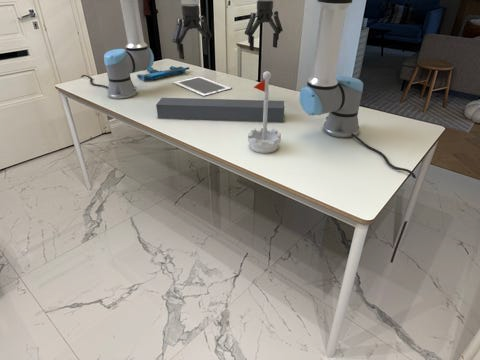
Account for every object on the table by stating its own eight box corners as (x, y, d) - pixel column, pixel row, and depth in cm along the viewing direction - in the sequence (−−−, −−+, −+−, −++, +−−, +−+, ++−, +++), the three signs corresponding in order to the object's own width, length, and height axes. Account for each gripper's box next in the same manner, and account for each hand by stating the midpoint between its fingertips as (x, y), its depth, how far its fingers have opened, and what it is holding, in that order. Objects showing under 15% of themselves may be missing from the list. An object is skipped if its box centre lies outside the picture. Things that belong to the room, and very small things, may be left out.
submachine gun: (174, 61, 240) (194, 66, 223) (175, 66, 242) (194, 72, 225) (128, 70, 221) (146, 76, 205) (130, 76, 223) (147, 82, 207)
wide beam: (283, 114, 166) (283, 100, 162) (283, 122, 158) (284, 108, 154) (163, 111, 170) (161, 97, 166) (158, 118, 162) (156, 104, 158)
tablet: (173, 83, 208) (173, 82, 207) (200, 76, 219) (200, 76, 218) (203, 96, 187) (203, 95, 187) (231, 88, 198) (231, 87, 198)
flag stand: (271, 137, 144) (275, 65, 128) (285, 150, 134) (292, 74, 118) (243, 142, 140) (243, 68, 124) (255, 156, 130) (257, 78, 114)
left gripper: (170, 8, 136) (175, 62, 148) (218, 3, 150) (220, 53, 162) (160, 6, 141) (166, 59, 152) (207, 2, 155) (210, 50, 166)
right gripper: (282, -2, 163) (279, 44, 174) (237, 0, 153) (237, 50, 164) (292, -1, 157) (288, 47, 169) (245, 2, 147) (245, 53, 159)
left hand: (194, 56), depth 157 cm, fingers open, 13 cm apart
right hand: (263, 48), depth 167 cm, fingers open, 13 cm apart
